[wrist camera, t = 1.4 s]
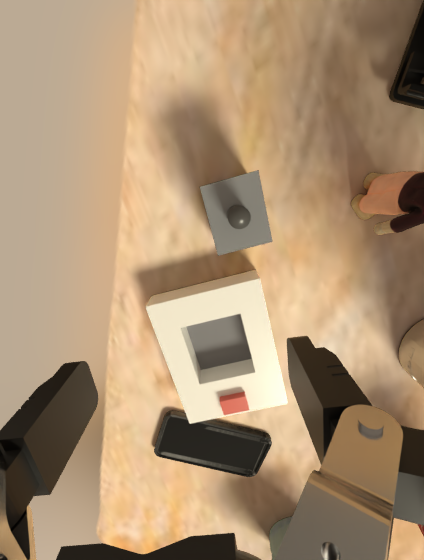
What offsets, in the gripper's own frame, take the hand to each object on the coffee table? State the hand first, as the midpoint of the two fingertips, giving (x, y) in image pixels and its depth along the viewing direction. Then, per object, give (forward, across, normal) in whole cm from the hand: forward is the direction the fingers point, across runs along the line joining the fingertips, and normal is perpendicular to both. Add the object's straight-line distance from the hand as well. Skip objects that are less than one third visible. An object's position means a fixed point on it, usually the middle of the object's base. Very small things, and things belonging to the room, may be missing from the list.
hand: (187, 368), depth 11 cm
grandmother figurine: (+20, -18, -4) cm, 27 cm away
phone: (+20, +3, +27) cm, 34 cm away
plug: (+20, -3, -4) cm, 20 cm away
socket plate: (+20, 0, +11) cm, 23 cm away
